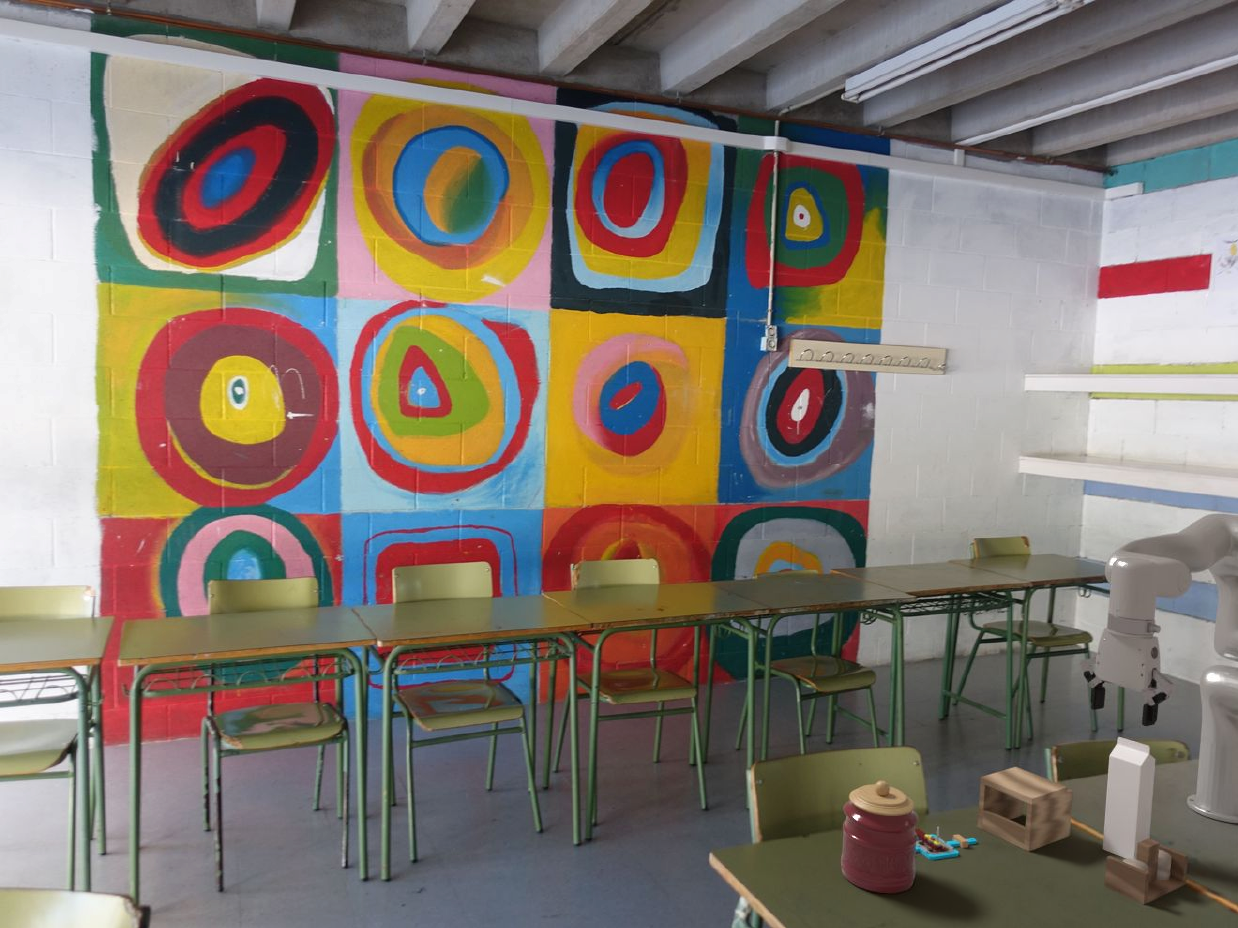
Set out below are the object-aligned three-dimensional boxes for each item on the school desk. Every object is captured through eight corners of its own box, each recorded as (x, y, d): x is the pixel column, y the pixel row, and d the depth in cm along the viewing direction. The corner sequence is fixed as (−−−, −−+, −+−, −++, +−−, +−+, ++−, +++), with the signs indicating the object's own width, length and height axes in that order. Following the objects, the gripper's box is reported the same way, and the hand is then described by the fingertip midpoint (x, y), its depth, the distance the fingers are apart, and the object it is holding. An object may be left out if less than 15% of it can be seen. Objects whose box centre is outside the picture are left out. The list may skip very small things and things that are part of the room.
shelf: (1018, 813, 197) (1021, 764, 197) (1069, 835, 188) (1073, 784, 187) (977, 827, 190) (980, 776, 189) (1028, 851, 180) (1032, 798, 180)
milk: (1133, 862, 178) (1142, 749, 176) (1101, 849, 183) (1110, 739, 181) (1148, 853, 181) (1157, 743, 180) (1116, 840, 186) (1124, 733, 184)
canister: (825, 865, 172) (830, 772, 171) (882, 853, 178) (887, 763, 176) (871, 900, 161) (876, 801, 159) (930, 887, 166) (936, 790, 164)
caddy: (1146, 867, 176) (1149, 826, 175) (1185, 884, 170) (1188, 842, 169) (1104, 886, 168) (1107, 843, 168) (1143, 904, 162) (1147, 860, 162)
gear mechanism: (871, 843, 183) (900, 867, 174) (872, 817, 182) (901, 839, 173) (956, 831, 189) (988, 854, 180) (958, 806, 189) (990, 826, 180)
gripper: (1189, 634, 167) (1181, 728, 168) (1097, 614, 182) (1089, 700, 183) (1166, 638, 163) (1158, 734, 164) (1074, 616, 178) (1066, 705, 179)
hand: (1122, 716), depth 173 cm, fingers open, 9 cm apart
